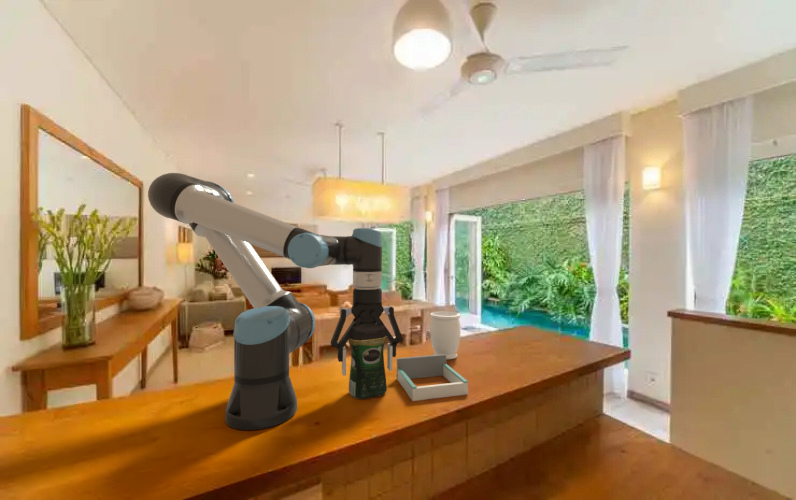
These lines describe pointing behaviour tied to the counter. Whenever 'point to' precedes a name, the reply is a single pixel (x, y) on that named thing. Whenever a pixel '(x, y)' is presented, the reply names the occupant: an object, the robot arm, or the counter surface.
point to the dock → (429, 368)
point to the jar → (445, 333)
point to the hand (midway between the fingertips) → (367, 371)
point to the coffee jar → (367, 361)
